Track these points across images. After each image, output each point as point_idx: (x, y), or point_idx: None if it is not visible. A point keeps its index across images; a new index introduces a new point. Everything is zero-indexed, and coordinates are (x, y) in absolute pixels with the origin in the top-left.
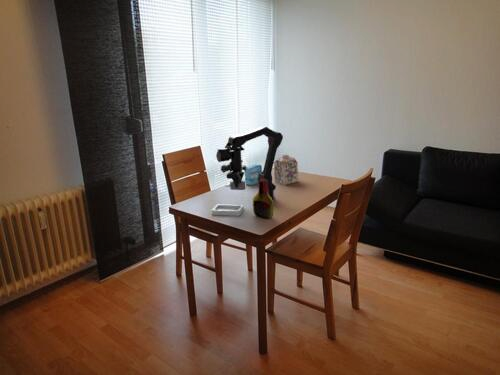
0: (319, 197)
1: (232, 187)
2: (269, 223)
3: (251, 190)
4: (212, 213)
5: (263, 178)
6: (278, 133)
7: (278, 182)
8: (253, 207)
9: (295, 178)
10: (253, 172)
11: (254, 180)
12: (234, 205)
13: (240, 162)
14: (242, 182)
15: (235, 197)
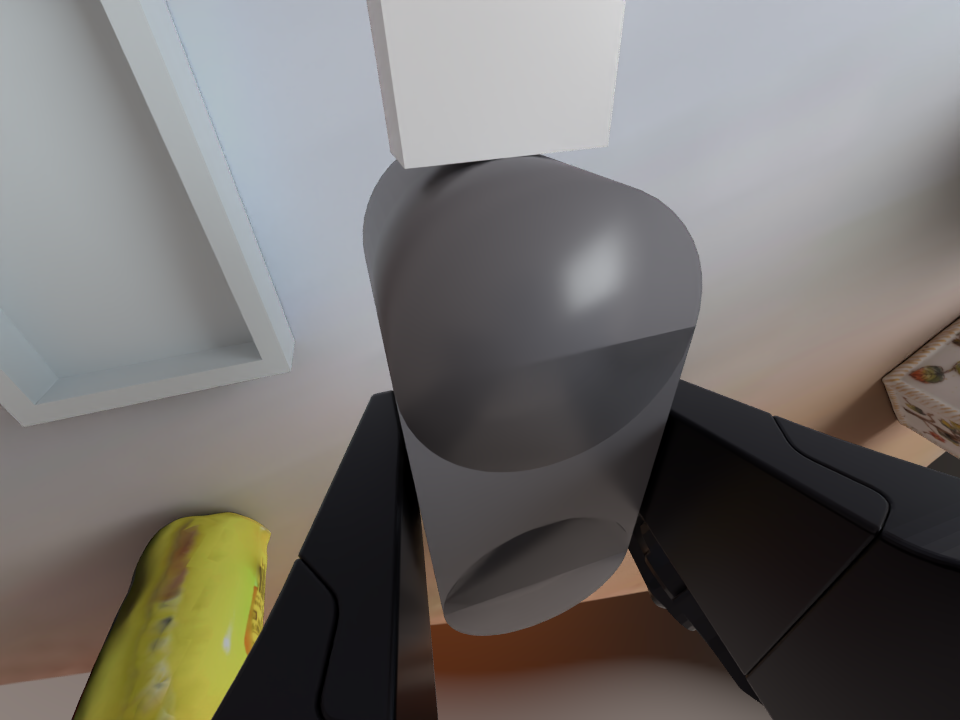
0: (625, 588)
1: (372, 283)
2: (98, 637)
3: (887, 163)
4: None
5: (725, 649)
6: None
7: (954, 324)
8: (143, 586)
9: (926, 432)
10: None
11: None
12: (218, 256)
13: None
14: (506, 606)
15: (710, 26)
